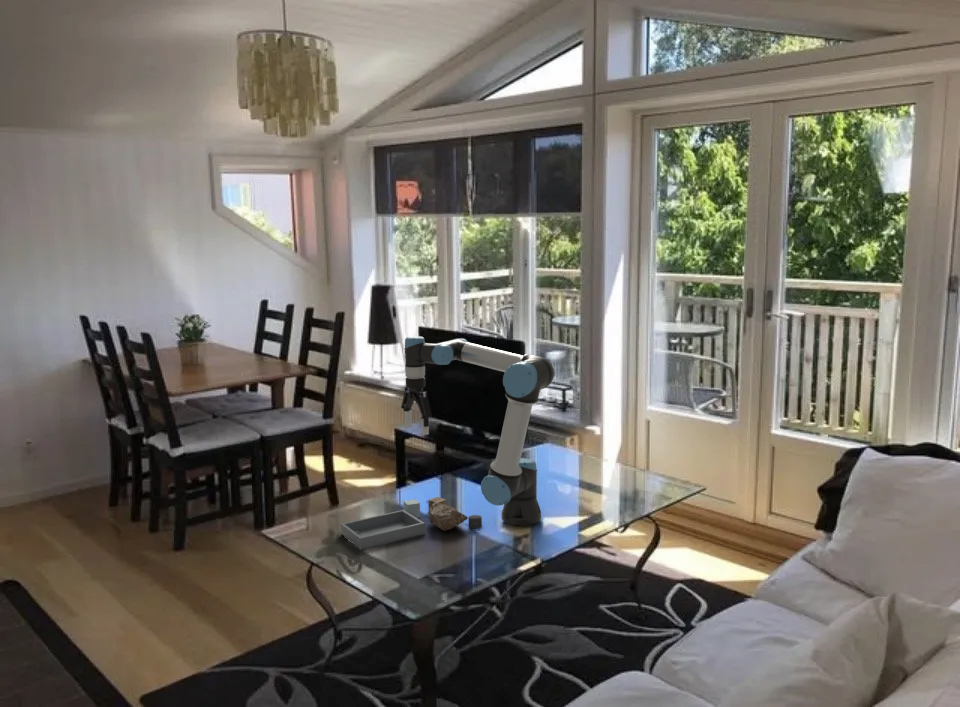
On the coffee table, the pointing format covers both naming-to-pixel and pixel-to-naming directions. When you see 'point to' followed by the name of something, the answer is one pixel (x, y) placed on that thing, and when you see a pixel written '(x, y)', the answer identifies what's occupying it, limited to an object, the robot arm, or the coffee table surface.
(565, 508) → the coffee table surface
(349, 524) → the grey tray
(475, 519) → the dark grey cylinder
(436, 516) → the rock
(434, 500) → the walnut cube
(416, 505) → the bluegrey block
